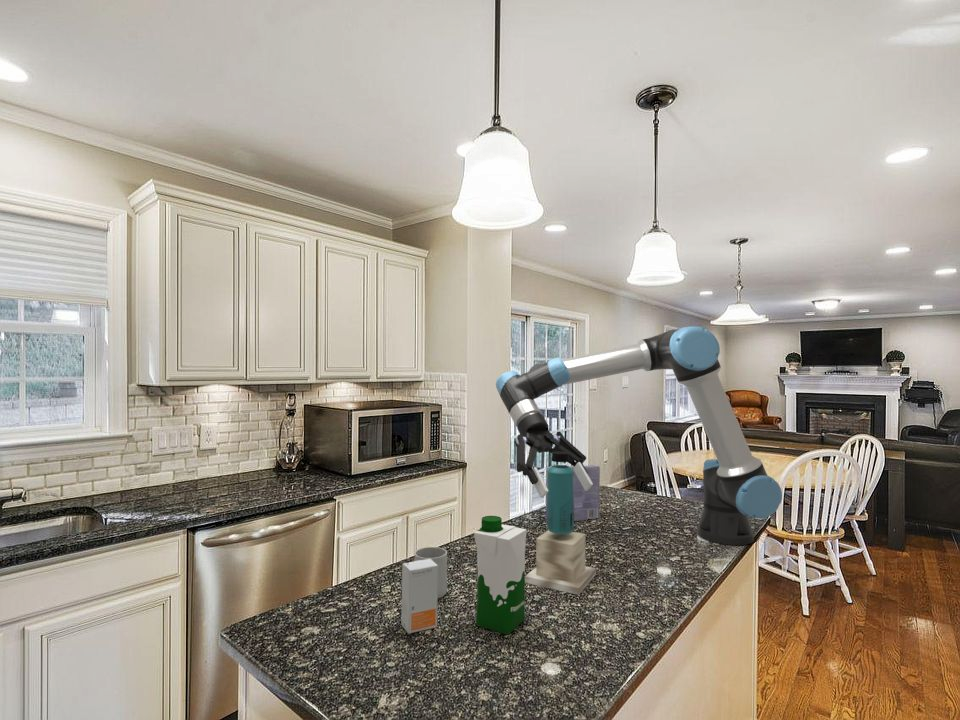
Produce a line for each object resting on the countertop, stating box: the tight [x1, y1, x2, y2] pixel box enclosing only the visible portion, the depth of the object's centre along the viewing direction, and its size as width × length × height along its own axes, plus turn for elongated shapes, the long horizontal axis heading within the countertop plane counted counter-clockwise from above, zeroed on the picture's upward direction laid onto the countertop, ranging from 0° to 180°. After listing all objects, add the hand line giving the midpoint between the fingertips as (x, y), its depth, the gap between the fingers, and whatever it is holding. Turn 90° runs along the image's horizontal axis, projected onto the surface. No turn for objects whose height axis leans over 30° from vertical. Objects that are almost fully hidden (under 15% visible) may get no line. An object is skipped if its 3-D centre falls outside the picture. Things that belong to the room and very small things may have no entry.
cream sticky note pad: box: [525, 529, 597, 596], centre depth 122 cm, size 13×13×10 cm
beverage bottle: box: [546, 452, 575, 534], centre depth 122 cm, size 6×7×20 cm
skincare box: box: [400, 559, 439, 635], centre depth 99 cm, size 6×4×12 cm
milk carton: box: [473, 515, 527, 636], centre depth 101 cm, size 9×9×20 cm
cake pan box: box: [545, 464, 601, 522], centre depth 170 cm, size 19×5×18 cm, turn 108°
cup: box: [414, 546, 448, 600], centre depth 113 cm, size 7×10×9 cm
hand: (567, 491), depth 120 cm, fingers open, 13 cm apart
